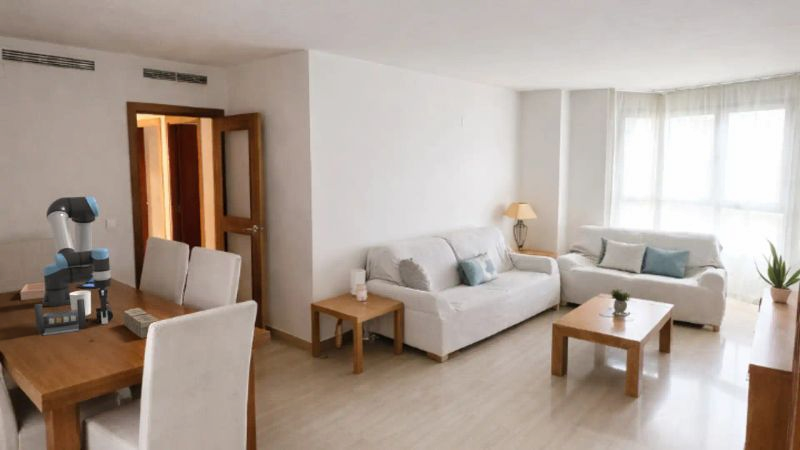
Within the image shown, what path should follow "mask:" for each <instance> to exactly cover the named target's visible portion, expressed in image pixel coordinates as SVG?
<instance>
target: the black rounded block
mask: <svg viewBox="0 0 800 450" xmlns="http://www.w3.org/2000/svg"><path fill="white" fill-rule="evenodd" d="M102 309H103V308H102ZM99 310H101V307H98V308H95V313H96V314H95V315H96V323H97V325H103V324H102V319H101V312H99ZM107 315H108V323H110V321H112V319H113V318H114V313H113V310H112V308H111V306H108V305H107Z"/></svg>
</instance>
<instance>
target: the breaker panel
mask: <svg viewBox="0 0 800 450" xmlns="http://www.w3.org/2000/svg"><path fill="white" fill-rule="evenodd" d="M43 320H44V329H46V328H54V327H61V326H69V325H76V324H79V320H78V310H72V309H71V310H65V311H64V310H63V311H55V312H46V313H43Z"/></svg>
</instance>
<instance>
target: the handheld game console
mask: <svg viewBox="0 0 800 450" xmlns="http://www.w3.org/2000/svg"><path fill="white" fill-rule="evenodd" d="M76 288H77V289H85V290H86V289H87V290H91V289H92V290H99V288H96V287H94V281H89V282H84V283H82V284H79V285H76Z"/></svg>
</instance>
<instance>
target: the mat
mask: <svg viewBox="0 0 800 450" xmlns="http://www.w3.org/2000/svg"><path fill="white" fill-rule="evenodd" d="M79 329H80V328H79V324H74V325H67V326H59V327H52V328H44V331H45V332H44V333H43V334H42V335H43V336H44V337H45V336H53V335H59V334H67V333H74V332H79Z"/></svg>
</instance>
